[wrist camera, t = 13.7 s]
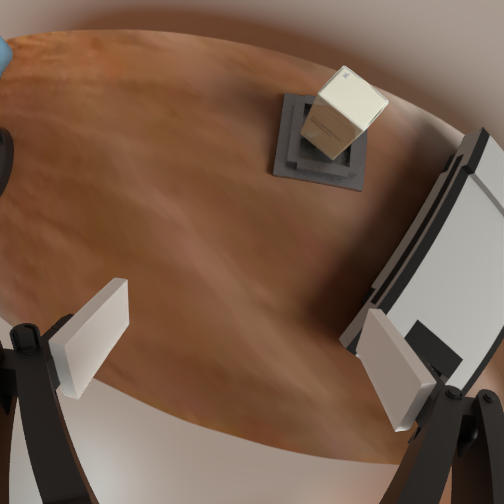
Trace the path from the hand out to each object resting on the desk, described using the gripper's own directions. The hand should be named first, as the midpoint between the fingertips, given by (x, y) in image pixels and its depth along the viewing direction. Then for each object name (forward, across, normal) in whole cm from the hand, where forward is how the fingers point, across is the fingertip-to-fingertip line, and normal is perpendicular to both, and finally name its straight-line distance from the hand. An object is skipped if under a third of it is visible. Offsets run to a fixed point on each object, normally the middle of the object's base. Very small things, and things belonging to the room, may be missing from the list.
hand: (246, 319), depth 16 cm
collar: (+24, +8, +12) cm, 28 cm away
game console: (+20, +29, -2) cm, 35 cm away
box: (+21, +7, +12) cm, 26 cm away
